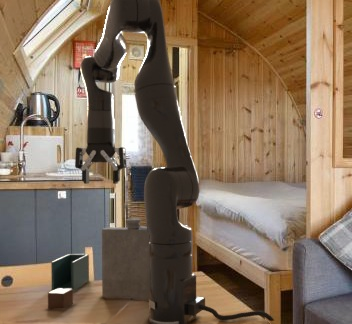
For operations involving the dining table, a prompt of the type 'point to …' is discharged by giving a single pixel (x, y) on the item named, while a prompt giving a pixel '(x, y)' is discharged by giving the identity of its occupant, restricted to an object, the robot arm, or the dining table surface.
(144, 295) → the hip flask
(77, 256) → the teal open box
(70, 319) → the dining table surface
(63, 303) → the walnut block
